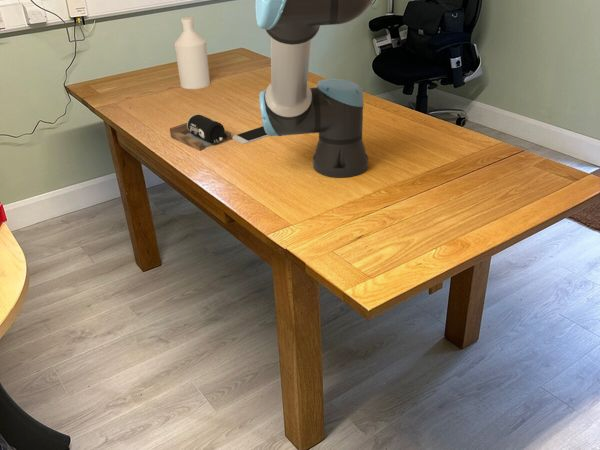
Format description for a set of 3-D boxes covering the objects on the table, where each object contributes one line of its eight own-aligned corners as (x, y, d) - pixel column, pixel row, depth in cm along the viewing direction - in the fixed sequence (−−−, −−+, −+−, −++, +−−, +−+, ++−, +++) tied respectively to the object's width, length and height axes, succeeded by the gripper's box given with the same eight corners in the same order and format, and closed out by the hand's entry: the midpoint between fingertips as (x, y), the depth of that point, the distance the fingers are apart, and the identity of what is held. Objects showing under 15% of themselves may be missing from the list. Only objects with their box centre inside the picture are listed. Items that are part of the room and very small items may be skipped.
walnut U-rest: (231, 138, 180) (231, 129, 179) (200, 150, 173) (198, 141, 172) (202, 126, 190) (201, 117, 189) (171, 137, 183) (169, 128, 182)
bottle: (208, 88, 224) (200, 21, 212) (177, 89, 225) (167, 22, 212) (212, 79, 235) (205, 14, 222) (183, 80, 235) (174, 15, 222)
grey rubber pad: (225, 139, 180) (225, 138, 180) (203, 148, 175) (202, 146, 175) (202, 130, 188) (202, 129, 187) (180, 137, 183) (180, 136, 182)
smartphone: (230, 139, 182) (230, 136, 181) (270, 126, 190) (270, 123, 189) (243, 145, 177) (243, 142, 176) (283, 132, 185) (283, 129, 184)
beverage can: (213, 119, 172) (191, 110, 180) (204, 139, 172) (182, 129, 180) (229, 127, 177) (206, 118, 185) (220, 147, 177) (198, 137, 185)
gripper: (304, -52, 148) (307, 43, 160) (269, -54, 156) (274, 36, 169) (282, -49, 144) (287, 49, 156) (248, -51, 152) (255, 41, 164)
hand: (280, 42), depth 162 cm, fingers closed
